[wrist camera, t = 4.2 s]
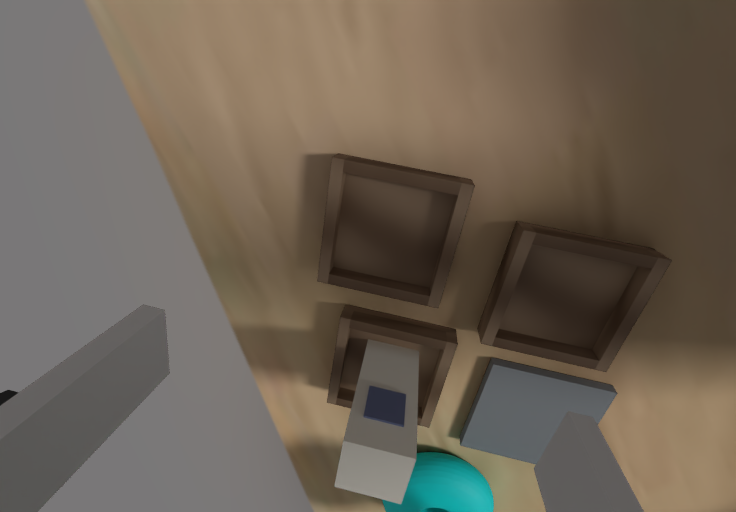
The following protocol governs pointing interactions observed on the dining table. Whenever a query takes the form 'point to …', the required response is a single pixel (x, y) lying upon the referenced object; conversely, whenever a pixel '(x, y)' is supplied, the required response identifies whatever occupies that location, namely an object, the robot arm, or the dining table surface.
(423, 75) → the dining table surface
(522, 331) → the brown square tray
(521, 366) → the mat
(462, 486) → the donuts
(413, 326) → the square wooden tray
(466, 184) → the shallow wooden tray
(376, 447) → the white rectangular block
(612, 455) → the robot arm
